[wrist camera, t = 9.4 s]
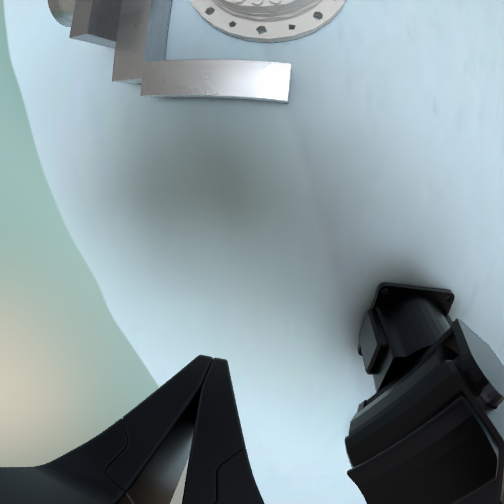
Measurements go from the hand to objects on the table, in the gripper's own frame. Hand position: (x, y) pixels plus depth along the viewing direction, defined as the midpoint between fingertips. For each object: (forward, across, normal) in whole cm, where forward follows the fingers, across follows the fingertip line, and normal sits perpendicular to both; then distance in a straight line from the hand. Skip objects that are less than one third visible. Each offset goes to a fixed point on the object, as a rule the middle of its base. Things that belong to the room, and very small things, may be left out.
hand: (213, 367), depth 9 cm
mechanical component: (+14, +1, -16) cm, 21 cm away
